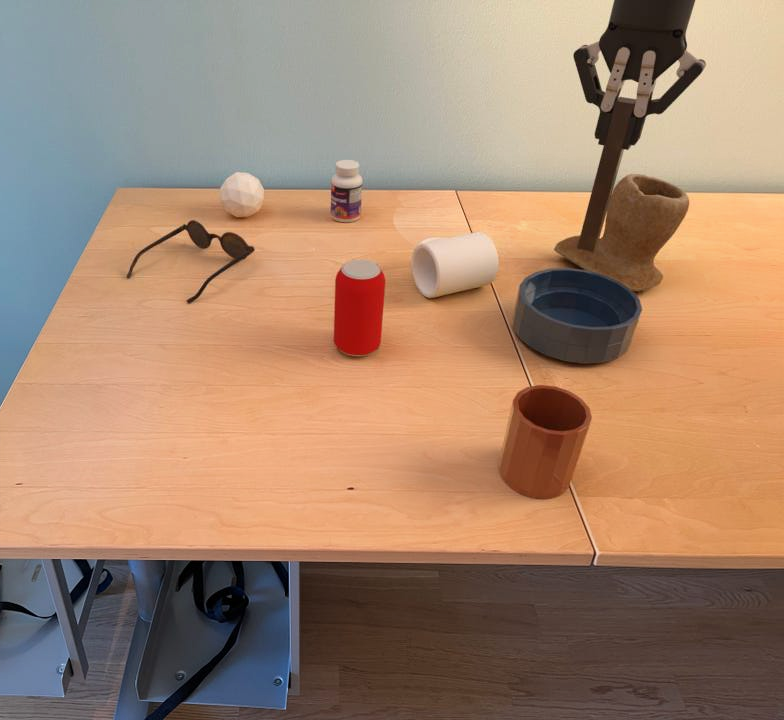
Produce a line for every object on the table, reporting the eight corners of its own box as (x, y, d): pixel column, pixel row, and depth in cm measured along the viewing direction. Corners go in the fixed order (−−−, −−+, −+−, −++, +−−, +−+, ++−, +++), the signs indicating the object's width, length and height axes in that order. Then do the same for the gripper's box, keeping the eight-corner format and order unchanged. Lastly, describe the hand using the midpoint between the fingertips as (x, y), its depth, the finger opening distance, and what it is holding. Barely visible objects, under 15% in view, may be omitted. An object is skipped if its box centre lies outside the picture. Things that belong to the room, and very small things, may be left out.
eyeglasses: (255, 264, 111) (254, 236, 108) (193, 306, 101) (189, 276, 98) (186, 240, 117) (183, 213, 114) (121, 277, 107) (116, 248, 104)
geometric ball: (244, 223, 129) (254, 181, 128) (265, 223, 122) (277, 179, 122) (207, 210, 124) (218, 166, 124) (228, 210, 118) (239, 164, 117)
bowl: (639, 324, 97) (652, 287, 93) (613, 382, 86) (627, 343, 83) (531, 294, 103) (539, 258, 100) (495, 344, 93) (503, 306, 89)
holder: (578, 464, 75) (599, 400, 70) (558, 509, 70) (579, 444, 65) (511, 439, 78) (526, 376, 73) (488, 480, 73) (502, 416, 68)
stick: (597, 246, 88) (638, 99, 77) (593, 252, 86) (634, 104, 75) (581, 242, 88) (619, 96, 78) (576, 248, 87) (615, 101, 76)
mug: (494, 294, 103) (503, 246, 98) (435, 308, 100) (442, 259, 95) (451, 258, 112) (457, 212, 107) (396, 270, 109) (400, 223, 104)
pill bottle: (324, 215, 125) (325, 163, 119) (346, 207, 128) (348, 155, 122) (344, 226, 121) (346, 172, 116) (366, 217, 124) (369, 164, 118)
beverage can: (385, 358, 91) (392, 277, 83) (339, 363, 90) (342, 283, 82) (372, 331, 95) (378, 253, 88) (328, 337, 94) (330, 258, 87)
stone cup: (680, 284, 105) (715, 190, 96) (624, 303, 101) (655, 207, 92) (602, 243, 116) (627, 155, 107) (549, 259, 112) (570, 168, 103)
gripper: (580, -28, 70) (544, 144, 80) (733, -15, 64) (673, 168, 74) (599, -37, 75) (563, 125, 85) (742, -26, 69) (685, 147, 79)
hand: (615, 144), depth 79 cm, fingers closed on stick, 2 cm apart
